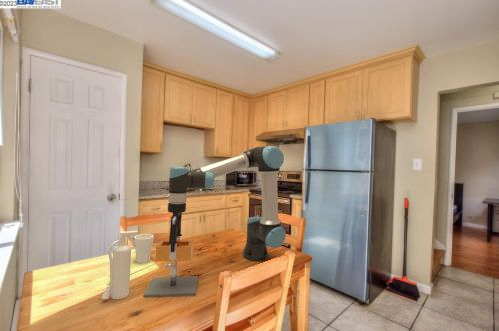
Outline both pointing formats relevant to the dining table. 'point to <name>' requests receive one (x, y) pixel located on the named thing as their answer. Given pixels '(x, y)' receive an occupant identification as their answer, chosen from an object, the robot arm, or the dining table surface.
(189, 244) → the framed display niche
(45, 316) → the dining table surface
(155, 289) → the keeper plate
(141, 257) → the foam cup
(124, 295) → the fire extinguisher
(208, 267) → the dining table surface
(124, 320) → the dining table surface
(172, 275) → the hook
